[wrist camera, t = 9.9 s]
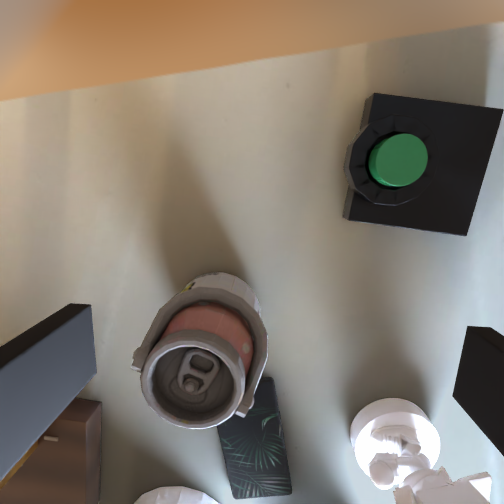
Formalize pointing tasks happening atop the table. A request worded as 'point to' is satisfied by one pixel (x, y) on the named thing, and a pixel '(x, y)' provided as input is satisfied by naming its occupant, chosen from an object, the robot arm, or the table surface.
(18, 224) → the table surface
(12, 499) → the plate
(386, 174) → the open button
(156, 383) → the beverage can
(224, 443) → the smartphone
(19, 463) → the tan wooden block
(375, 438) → the character figurine
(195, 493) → the container
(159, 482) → the table surface
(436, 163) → the box
